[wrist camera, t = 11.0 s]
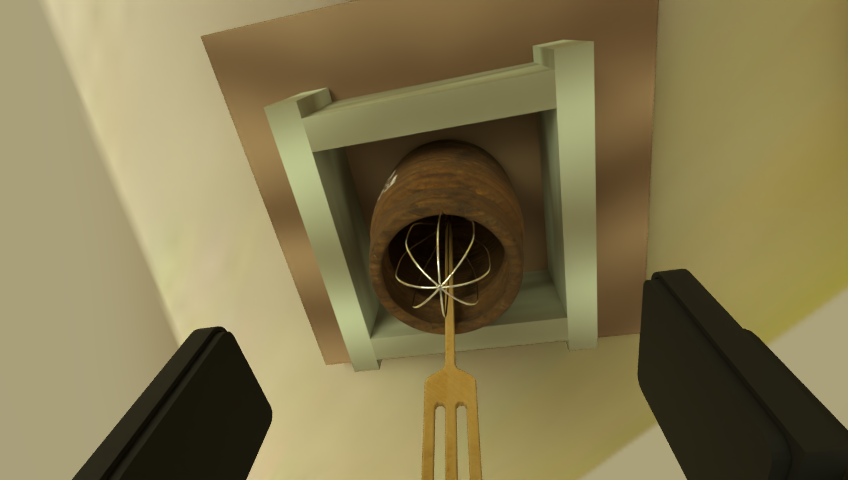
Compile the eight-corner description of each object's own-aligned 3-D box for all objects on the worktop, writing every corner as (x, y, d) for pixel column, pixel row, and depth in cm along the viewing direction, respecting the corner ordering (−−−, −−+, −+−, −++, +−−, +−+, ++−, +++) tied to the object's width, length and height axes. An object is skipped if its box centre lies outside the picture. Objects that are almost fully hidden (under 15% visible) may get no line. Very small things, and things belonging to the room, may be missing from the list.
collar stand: (219, 36, 19) (133, 36, 14) (644, -62, 16) (728, -105, 11) (332, 348, 26) (304, 420, 21) (632, 315, 24) (679, 389, 19)
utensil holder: (510, 127, 18) (592, 266, 7) (512, 255, 21) (574, 492, 10) (376, 140, 19) (271, 285, 8) (396, 262, 21) (337, 492, 11)
